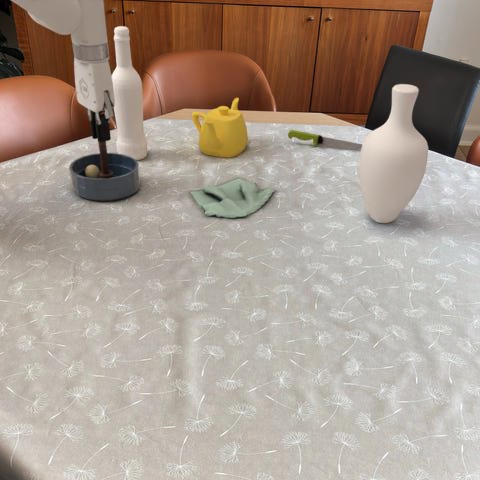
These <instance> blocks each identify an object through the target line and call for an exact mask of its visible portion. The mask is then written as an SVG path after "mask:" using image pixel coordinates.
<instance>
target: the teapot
mask: <svg viewBox="0 0 480 480" xmlns="http://www.w3.org/2000/svg"><path fill="white" fill-rule="evenodd" d="M239 101H240V99H239V97H235V98H234V99H233V100H232V103H231V108H229V107H228V106H226V105H221V106H220V105H219V106H218V107H216V108H212V109H211V110H209V111H208V112H207V113H205V112H202V111H193V112H192V113H191V119H192V122H193V125H194V126H195V128H196V130H197V131H198V132H199V135H198V146H199V149H200V151H201V153H202V154H204V155H207V156H212V157H218V158H227V159H229V158H230V159H231V158H234V157H236V156H237V157H238V155H240V154H241V153H243V152H244V150H245V149H246V146H247V144H248V139H249V137H248V129H247V124H246V121H245V117H244V116H243V114H242V112H241V110H239V108H238V105H239ZM200 118H203V120H202V123H201V122H200Z"/></svg>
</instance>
